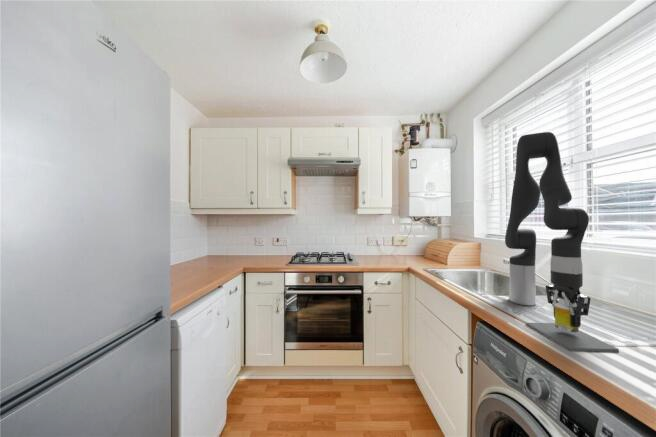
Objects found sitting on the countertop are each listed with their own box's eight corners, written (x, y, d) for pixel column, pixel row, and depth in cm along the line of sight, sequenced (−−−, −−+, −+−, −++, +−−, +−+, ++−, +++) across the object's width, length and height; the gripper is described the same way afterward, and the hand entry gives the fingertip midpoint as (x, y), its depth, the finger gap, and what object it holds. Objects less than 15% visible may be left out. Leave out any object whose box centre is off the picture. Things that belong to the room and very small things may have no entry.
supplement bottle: (575, 336, 78) (575, 302, 78) (552, 329, 83) (552, 298, 83) (581, 331, 81) (580, 299, 81) (558, 325, 86) (557, 295, 86)
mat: (525, 324, 91) (525, 322, 91) (564, 325, 90) (564, 323, 90) (570, 350, 73) (570, 348, 73) (618, 351, 72) (618, 349, 72)
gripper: (536, 266, 89) (537, 314, 89) (573, 275, 75) (574, 332, 75) (559, 266, 89) (560, 314, 89) (600, 275, 74) (601, 333, 74)
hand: (566, 322), depth 82 cm, fingers closed on supplement bottle, 5 cm apart
